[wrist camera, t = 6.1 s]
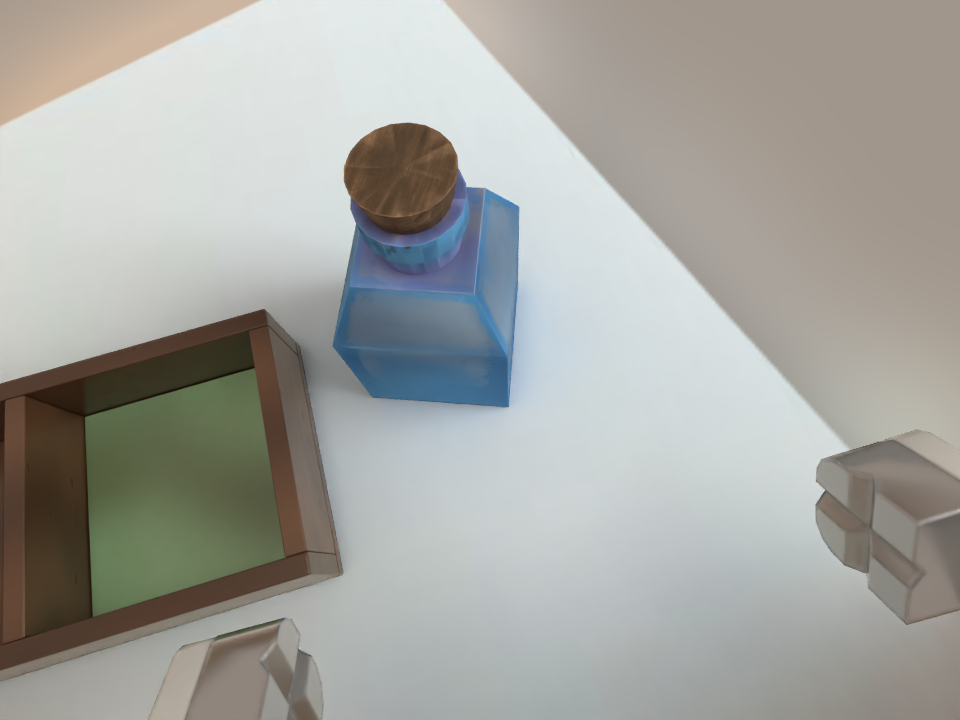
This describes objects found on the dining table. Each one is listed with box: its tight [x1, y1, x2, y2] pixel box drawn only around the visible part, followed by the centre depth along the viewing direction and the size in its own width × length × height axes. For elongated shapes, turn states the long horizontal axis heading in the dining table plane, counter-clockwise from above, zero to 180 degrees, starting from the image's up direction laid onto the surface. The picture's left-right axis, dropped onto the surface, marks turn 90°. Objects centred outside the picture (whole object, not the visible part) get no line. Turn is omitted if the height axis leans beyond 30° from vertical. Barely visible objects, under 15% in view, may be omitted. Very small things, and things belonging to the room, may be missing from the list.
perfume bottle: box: [333, 123, 519, 407], centre depth 21 cm, size 6×6×12 cm
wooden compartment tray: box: [0, 309, 343, 681], centre depth 23 cm, size 11×20×4 cm, turn 106°
